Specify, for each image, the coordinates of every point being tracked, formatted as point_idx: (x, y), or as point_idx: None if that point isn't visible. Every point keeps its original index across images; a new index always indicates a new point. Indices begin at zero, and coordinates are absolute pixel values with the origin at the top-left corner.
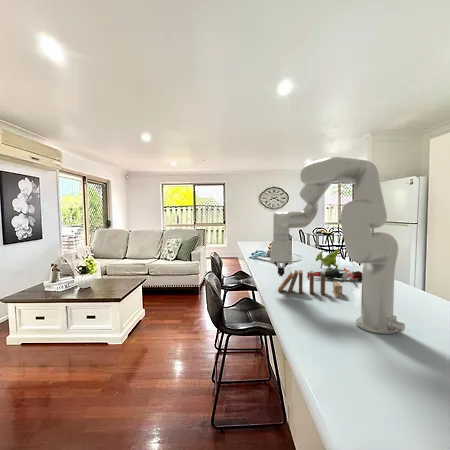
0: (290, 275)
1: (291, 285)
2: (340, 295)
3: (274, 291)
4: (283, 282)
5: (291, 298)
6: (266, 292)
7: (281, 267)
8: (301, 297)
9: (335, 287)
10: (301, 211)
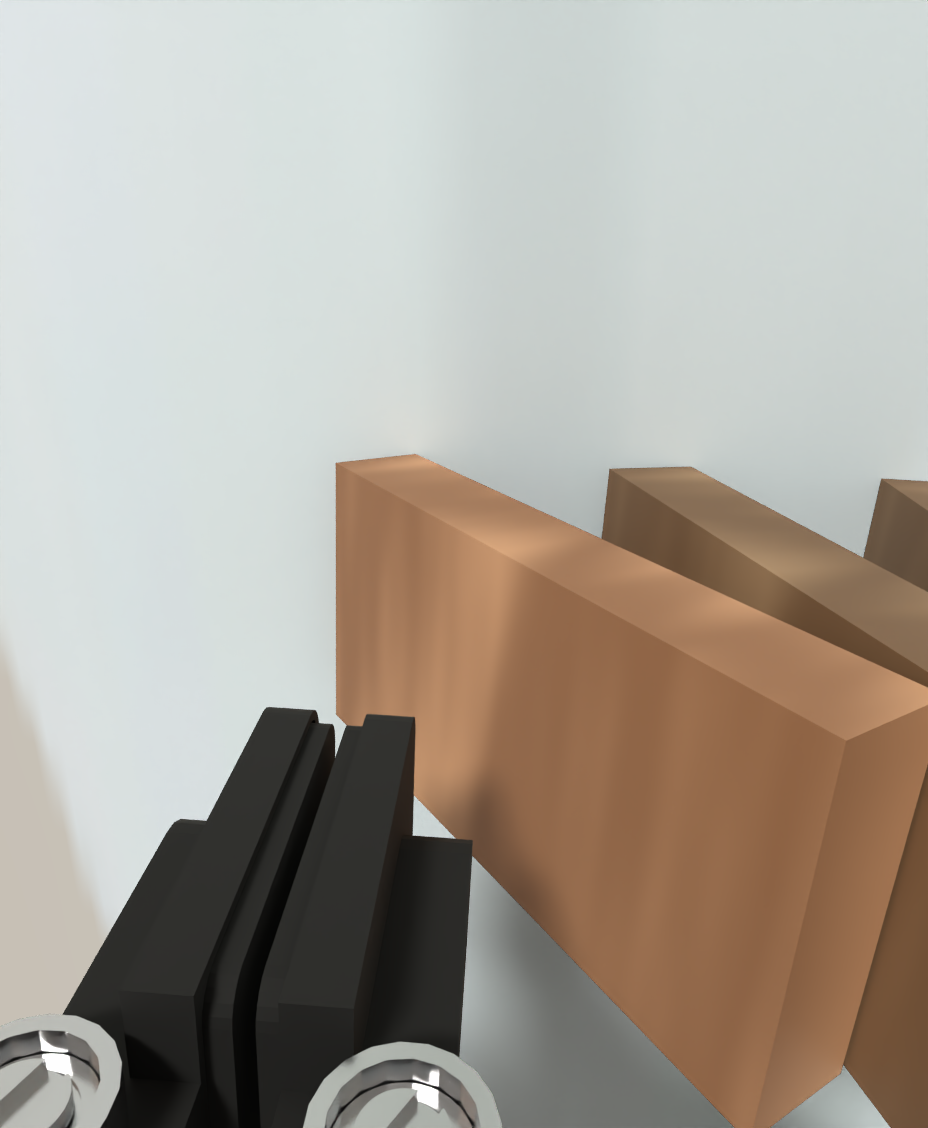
0: (724, 1091)
1: None
2: None
3: (264, 636)
4: (462, 726)
5: (620, 1020)
6: (101, 735)
7: (266, 1059)
8: None
9: None
10: None
